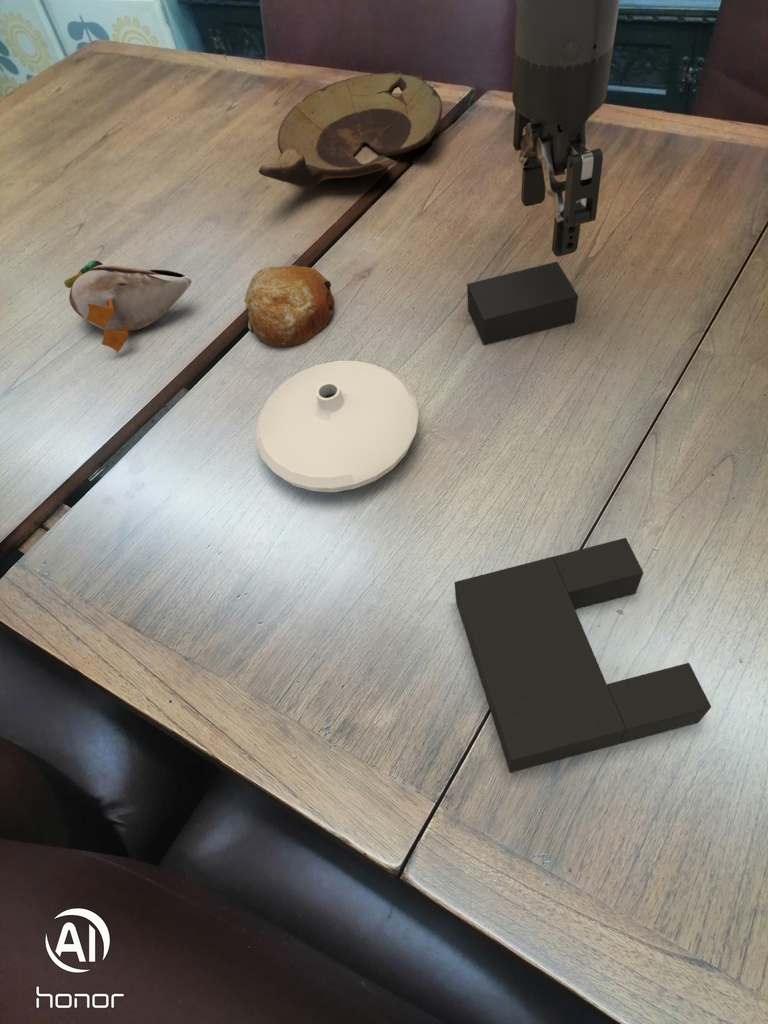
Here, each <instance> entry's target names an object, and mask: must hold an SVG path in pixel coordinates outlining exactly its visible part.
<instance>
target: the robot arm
mask: <svg viewBox="0 0 768 1024" xmlns="http://www.w3.org/2000/svg"><path fill="white" fill-rule="evenodd" d="M515 2H516V3H515V12H514V38H513V40H514V41H513V68H512V69H513V70H512V73H513V74H512V96H511V98H512V104H513V106H514V122H513V123H514V125H513V126H514V127H513V142H512V145H513V149H514V151H515V152H518V151H520V152H519V157H518V162H519V164H520V167H522V172H521V173H522V174H521V192H520V201H521V202H522V204H523V206H524V207H530V206H534V205H539V204H542V203H543V202H544V201H545V198H546V194H547V195H549V196H551V197H552V203H553V209H554V219H553V220H554V221H553V232H552V243H551V251H552V253H553V254H554V256H555V257H556V258H557V257H562V256H565V255H570V254H573V253H575V252H576V251H577V250H578V247H579V239H580V230H581V225H584V224H587V223H591V222H594V221H596V218H597V213H598V203H599V193H600V186H601V178H602V177H601V176H602V169H603V160H604V156H603V151H602V149H601V148H595V149H591V150H589V149H588V148H587V147H588V136H587V131H586V123H587V121H588V120H589V118H590V117H591V116H593V114H595V113H596V112H597V111H598V110H599V109H600V108H601V107H602V106H603V105H604V103H605V101H606V100H607V99H606V98H607V96H608V89H609V81H610V74H611V68H612V67H611V66H612V60H613V53H614V47H615V46H614V44H615V39H616V38H615V37H616V30H617V24H618V17H619V9H620V0H516V1H515ZM524 132H525V133H524ZM562 175H566V177H565V180H563V181H558V180H557V179H556V177H559V176H562ZM563 193H564V196H563Z"/></svg>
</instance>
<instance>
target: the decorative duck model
mask: <svg viewBox="0 0 768 1024" xmlns="http://www.w3.org/2000/svg"><path fill="white" fill-rule="evenodd" d="M63 284H64V286H65V287H66V288H67V289H70V291H69V295H68V296H69V297H68V299H69V303H70V306H71V308H72V309H73V311H74V312H75V313H76V314H77V315H78V316H80V317H81V318H82V319H83V320H85V321H86V322H88V323H89V324H91V325H92V326H95V327H96V328H99V329H101V330H102V331H103V339H102V341H101V345H103V346H107V347H109V348H111V349H113V350H114V351H116V353H119V351H120V350H122V348H123V346H124V344H125V342H126V340H127V339H128V338H129V337H130V334H131V331H133V332H134V331H138V330H140V329H143V328H146V327H147V326H149V325H152V323H154V322H156V321H157V320H158V319H159V318H160V317H162V316H163V315H164V314H166V312H168V311H169V309H170V308H172V306H174V304H175V303H177V302H178V300H180V299H181V297H182V296H183V295H184V294H185V292H186V291H187V290H188V289H189V287H190V286H191V285H192V279H191V278H190V277H185V275H184V274H182V273H180V272H176V271H172V270H167V269H166V270H165V269H155V268H153V269H152V268H139V267H130V266H124V265H120V264H114V263H113V264H112V263H102V262H101V261H99V260H91V261H89V262H88V263H86V265H84V266H83V267H81V268H80V270H79V271H78V272H77V273H76V274H75V275H72V276H70V277H68V278H67V279H65V280H64V282H63Z"/></svg>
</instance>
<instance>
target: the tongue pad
mask: <svg viewBox="0 0 768 1024" xmlns="http://www.w3.org/2000/svg"><path fill="white" fill-rule="evenodd" d="M466 290H467V292H466V293H467V311H468V313H469V316H470V318H471V319H472V322H473V325H474V326H475V328H476V331H477V333H478V335H479V337H480V340H481V342H482V343H483V345H484V346H486V345H491V344H494V343H498V342H502V341H506V340H510V339H513V338H517V337H522V336H525V335H529V334H534V333H538V332H543V331H545V330H549V329H553V328H557V327H561V326H566V325H569V324H574V323H575V321H576V315H577V309H578V307H577V306H578V299H579V294H577V292H576V290H575V288H574V287H573V285H572V283H571V282H570V280H569V278H568V277H567V275H566V273H565V272H564V270H563V269H562V266H561V265H560V264H559V262H558V261H553V262H549V263H545V264H541V265H538V266H537V265H536V266H533V267H529V268H525V269H521V270H518V271H517V270H516V271H514V272H509V273H506V274H505V273H504V274H501V275H497V276H493V277H489V278H485V279H482V280H477V281H473V282H469V283H467V284H466Z"/></svg>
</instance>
